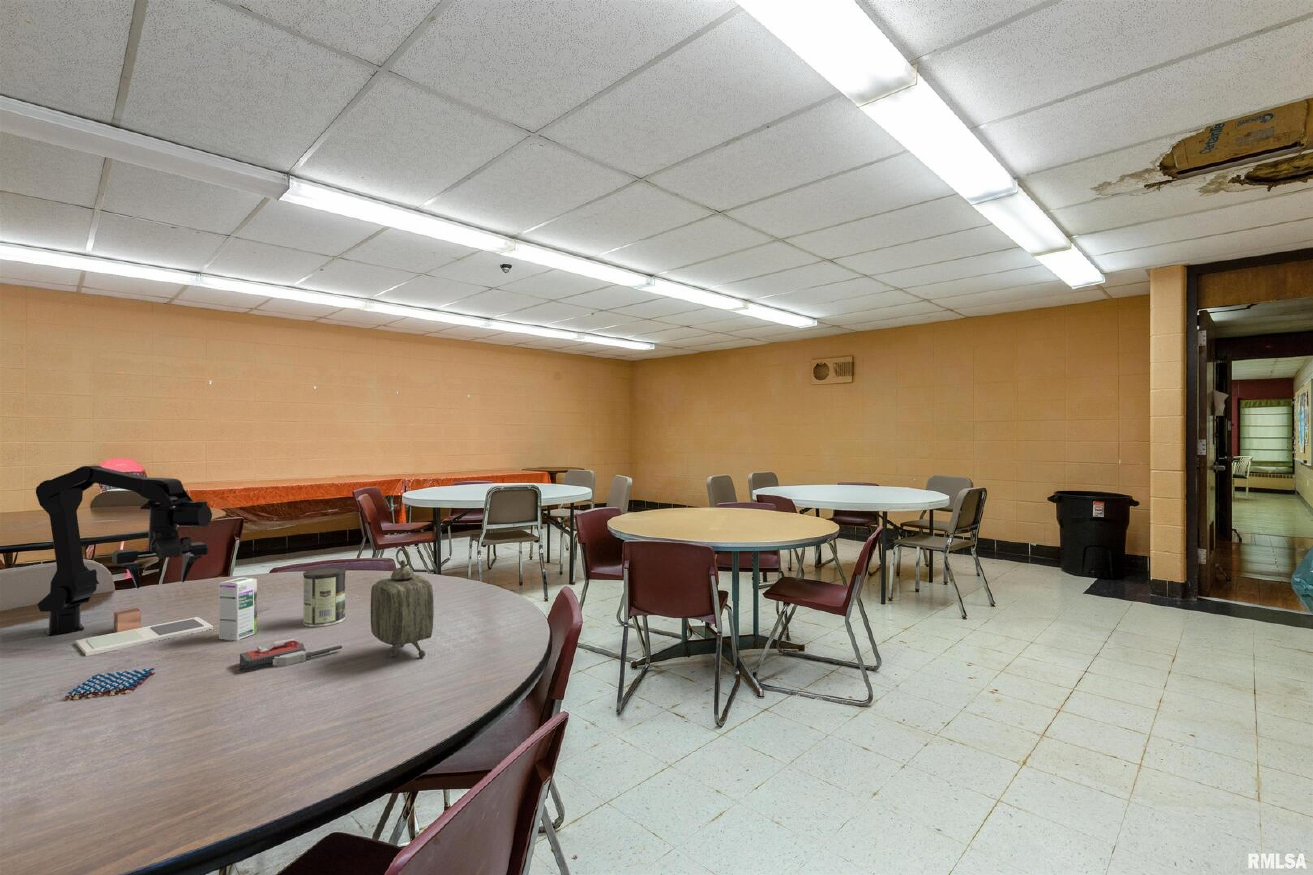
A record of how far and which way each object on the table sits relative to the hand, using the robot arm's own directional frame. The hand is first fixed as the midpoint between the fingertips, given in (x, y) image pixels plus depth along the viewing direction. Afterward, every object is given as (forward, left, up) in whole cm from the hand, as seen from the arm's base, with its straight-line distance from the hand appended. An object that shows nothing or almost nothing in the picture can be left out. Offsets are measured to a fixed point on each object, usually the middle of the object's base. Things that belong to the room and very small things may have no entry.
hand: (160, 584), depth 151 cm
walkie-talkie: (+50, +12, -12) cm, 53 cm away
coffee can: (+27, +29, -12) cm, 42 cm away
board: (+5, -4, -12) cm, 13 cm away
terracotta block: (-5, -6, -12) cm, 14 cm away
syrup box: (+23, +10, -12) cm, 28 cm away
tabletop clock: (+67, +29, -12) cm, 74 cm away
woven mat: (+38, -16, -12) cm, 43 cm away
